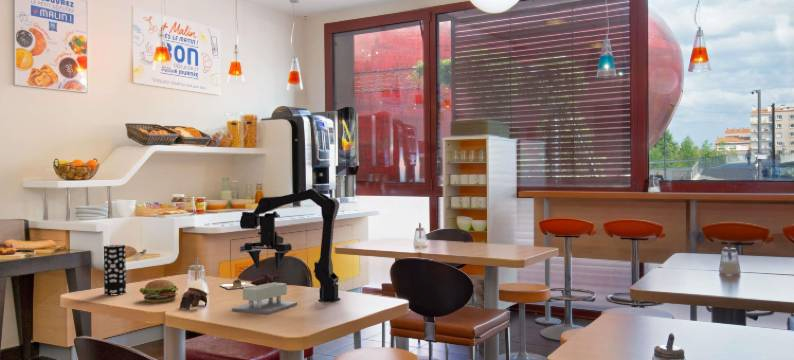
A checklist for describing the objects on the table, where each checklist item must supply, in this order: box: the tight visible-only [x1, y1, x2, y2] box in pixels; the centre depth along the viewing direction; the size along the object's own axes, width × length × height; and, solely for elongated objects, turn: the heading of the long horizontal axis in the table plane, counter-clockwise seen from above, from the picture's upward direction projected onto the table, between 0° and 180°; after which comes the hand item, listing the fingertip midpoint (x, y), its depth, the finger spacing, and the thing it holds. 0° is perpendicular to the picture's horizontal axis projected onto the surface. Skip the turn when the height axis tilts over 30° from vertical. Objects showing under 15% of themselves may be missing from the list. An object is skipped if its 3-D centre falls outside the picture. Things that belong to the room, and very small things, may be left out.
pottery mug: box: [179, 287, 208, 310], centre depth 248 cm, size 12×10×8 cm
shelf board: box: [242, 281, 288, 302], centre depth 246 cm, size 6×16×4 cm, turn 147°
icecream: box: [250, 273, 281, 286], centre depth 285 cm, size 7×7×15 cm
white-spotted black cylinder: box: [103, 244, 127, 296], centre depth 279 cm, size 8×8×20 cm
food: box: [139, 279, 179, 303], centre depth 264 cm, size 14×14×8 cm
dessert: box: [219, 277, 255, 290], centre depth 294 cm, size 12×12×5 cm
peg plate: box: [231, 296, 298, 315], centre depth 246 cm, size 16×18×4 cm
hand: (267, 268), depth 262 cm, fingers open, 9 cm apart
